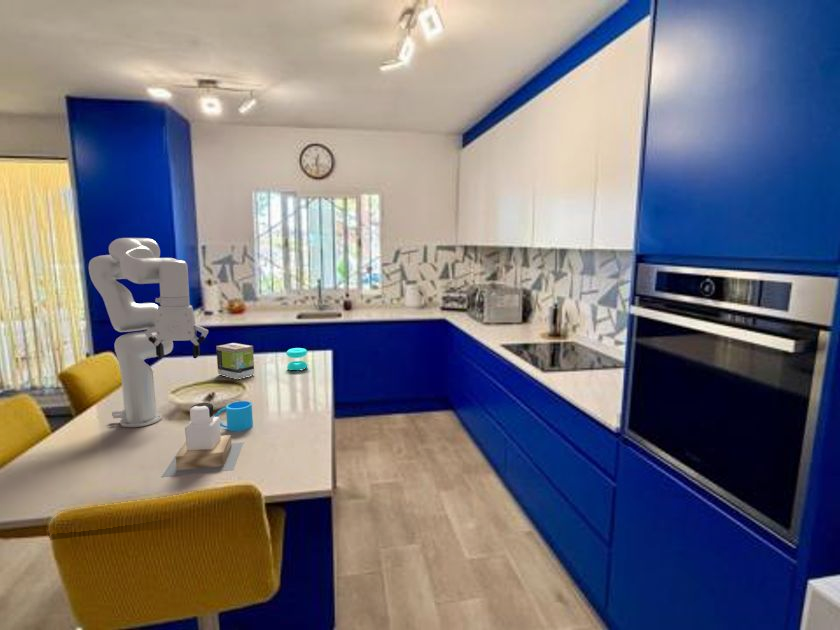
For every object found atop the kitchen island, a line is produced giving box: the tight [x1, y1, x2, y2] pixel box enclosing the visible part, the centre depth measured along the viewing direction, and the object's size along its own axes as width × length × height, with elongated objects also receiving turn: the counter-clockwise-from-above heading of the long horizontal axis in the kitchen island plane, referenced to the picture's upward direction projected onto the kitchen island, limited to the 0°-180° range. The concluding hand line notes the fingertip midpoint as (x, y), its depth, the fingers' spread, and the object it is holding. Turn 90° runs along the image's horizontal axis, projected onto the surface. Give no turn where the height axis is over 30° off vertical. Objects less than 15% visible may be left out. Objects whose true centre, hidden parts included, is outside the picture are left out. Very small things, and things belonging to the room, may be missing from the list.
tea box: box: [215, 342, 255, 379], centre depth 215 cm, size 15×10×15 cm, turn 58°
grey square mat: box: [161, 442, 244, 478], centre depth 131 cm, size 18×18×1 cm
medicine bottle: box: [184, 402, 222, 451], centre depth 129 cm, size 7×7×12 cm
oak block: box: [175, 434, 232, 470], centre depth 130 cm, size 12×12×4 cm
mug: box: [214, 400, 254, 432], centre depth 153 cm, size 12×8×8 cm
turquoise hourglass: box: [285, 347, 309, 371], centre depth 227 cm, size 10×10×10 cm
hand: (178, 357), depth 138 cm, fingers open, 9 cm apart
